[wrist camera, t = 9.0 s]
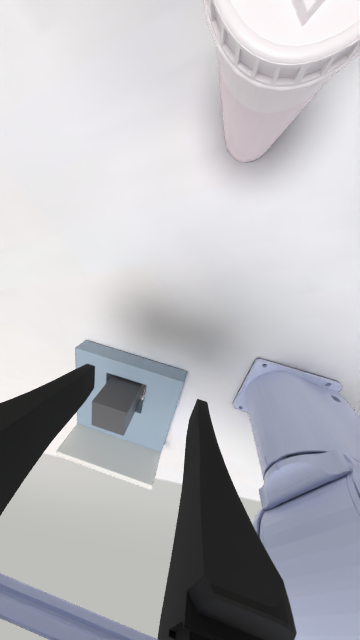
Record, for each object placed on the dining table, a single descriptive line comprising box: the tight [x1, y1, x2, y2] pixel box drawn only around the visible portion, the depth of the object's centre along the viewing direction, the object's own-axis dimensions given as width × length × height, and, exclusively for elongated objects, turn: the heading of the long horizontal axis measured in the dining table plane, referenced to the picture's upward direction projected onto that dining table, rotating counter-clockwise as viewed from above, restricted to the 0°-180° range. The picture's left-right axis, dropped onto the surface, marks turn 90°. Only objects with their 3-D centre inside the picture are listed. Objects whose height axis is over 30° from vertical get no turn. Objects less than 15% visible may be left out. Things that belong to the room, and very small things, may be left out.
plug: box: [91, 375, 145, 436], centre depth 22 cm, size 4×4×6 cm
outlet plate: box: [56, 340, 186, 490], centre depth 23 cm, size 14×16×6 cm
